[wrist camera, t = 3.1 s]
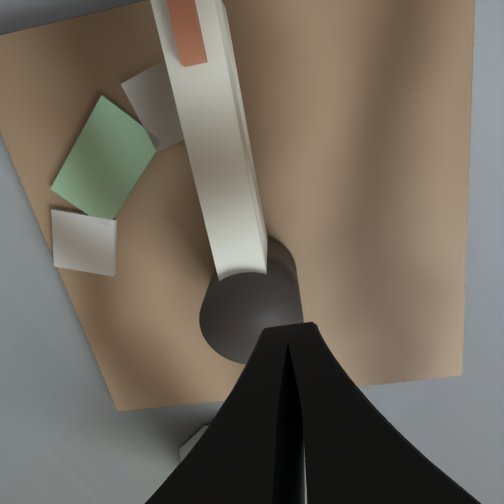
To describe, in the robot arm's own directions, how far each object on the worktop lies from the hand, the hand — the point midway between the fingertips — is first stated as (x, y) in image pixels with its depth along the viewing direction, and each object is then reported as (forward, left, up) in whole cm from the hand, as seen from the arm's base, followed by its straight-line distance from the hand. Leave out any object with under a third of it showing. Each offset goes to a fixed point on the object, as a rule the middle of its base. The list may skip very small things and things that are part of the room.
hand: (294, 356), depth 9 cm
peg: (+2, -3, -9) cm, 9 cm away
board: (+2, 0, -10) cm, 10 cm away
